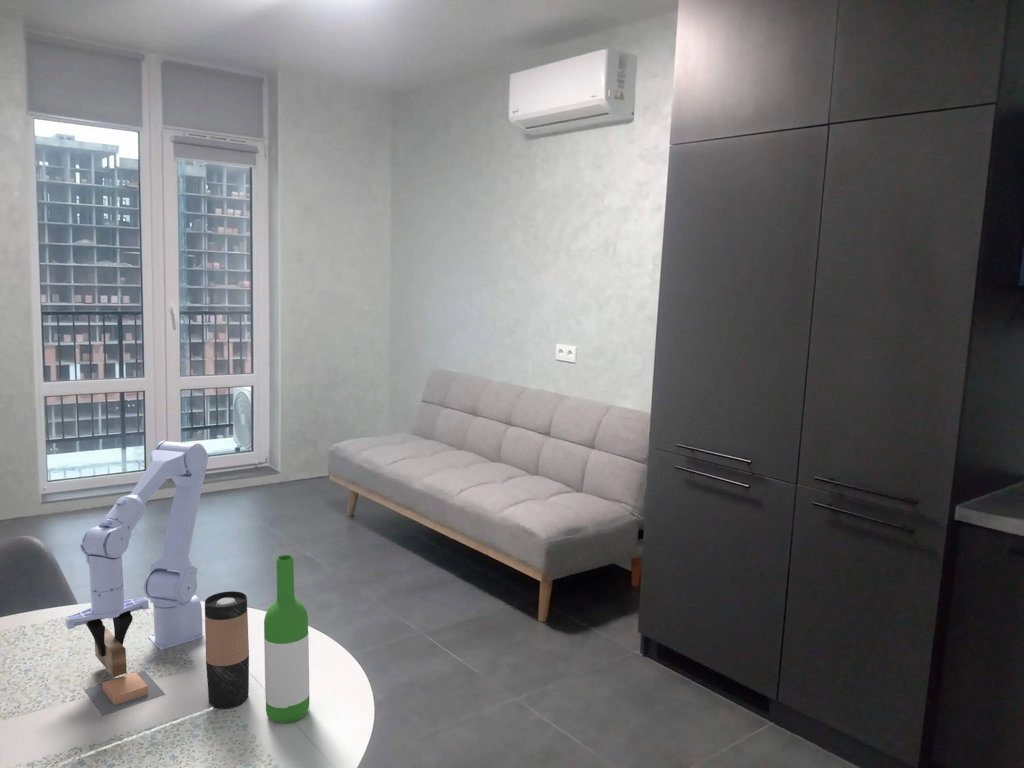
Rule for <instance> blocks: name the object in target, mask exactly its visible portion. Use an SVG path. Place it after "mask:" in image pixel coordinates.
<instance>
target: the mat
mask: <svg viewBox="0 0 1024 768" xmlns="http://www.w3.org/2000/svg"><path fill="white" fill-rule="evenodd" d="M136 673H137V674H138V675H139V677H140V678H141V679H142V680H143V681H144V682H145V683H146V684H147V686H148V694H147V695H144V696H141V697H138V698H135V699H132V700H129V701H126V702H123V703H120V704H117V705H114V704H113V703H112V702H111V701H110V699H109V698H108V697H107V695H106V694H105V693H104V691H103V686H102V683H101V684H97V685H95V686H92V687H88V688H85V689H83V690H84V692H85V694H86V695H87V696H88V697H89V699H90V700H91V702H92V703H93V704H94V707H96V708H97V710H98V712H99V714H101V716H102V717H103V716H107V715H109V714H112V713H114V712H119V711H121V710H124V709H127V708H130V707H132V706H136V705H139V704H141V703H144V702H147V701H151V700H153V699H157V698H159V697H162V696H165V695H166V693H165V692H164V691H163V689H161V687H159V685H158V684H157V683H156V682H155V681H154V679H152V678H151V676H150V675H149V674H148V673H147V672H146V671H145V670H142V671H138V672H136Z"/></svg>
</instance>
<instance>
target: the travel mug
mask: <svg viewBox="0 0 1024 768" xmlns="http://www.w3.org/2000/svg"><path fill="white" fill-rule="evenodd" d="M248 616H249V615H248V597H247V595H246V593H243V592H241V591H235V590H234V591H233V590H232V591H223V592H216V593H215V594H214V593H213V594H212V595H210V596H208V597H206V599H205V600H204V631H205V632H204V633H205V634H204V638H205V639H204V640H205V666H206V679H207V681H206V682H207V695H208V696H207V697H208V703H209V704H210V706H211V707H212V708H214V709H216V710H227V709H229V710H230V709H234V708H237V707H239V706H241V705H243V704H244V703H246V702H247V700H248V699H249V693H250V692H249V689H250V675H249V674H250V673H249V672H250V649H249V647H250V645H249V618H248Z"/></svg>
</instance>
